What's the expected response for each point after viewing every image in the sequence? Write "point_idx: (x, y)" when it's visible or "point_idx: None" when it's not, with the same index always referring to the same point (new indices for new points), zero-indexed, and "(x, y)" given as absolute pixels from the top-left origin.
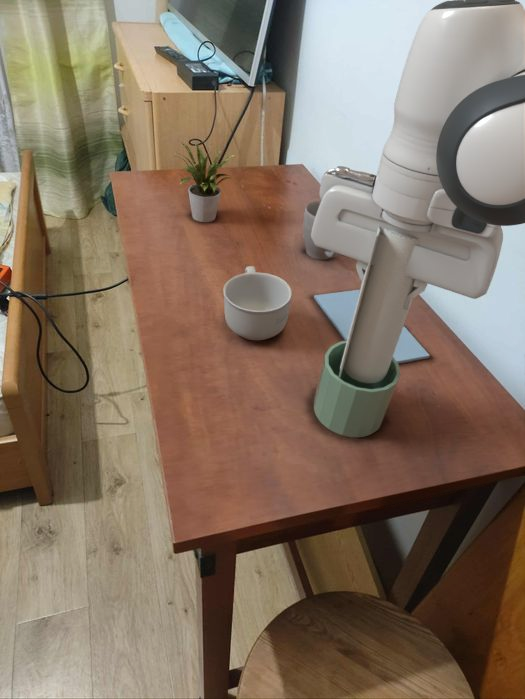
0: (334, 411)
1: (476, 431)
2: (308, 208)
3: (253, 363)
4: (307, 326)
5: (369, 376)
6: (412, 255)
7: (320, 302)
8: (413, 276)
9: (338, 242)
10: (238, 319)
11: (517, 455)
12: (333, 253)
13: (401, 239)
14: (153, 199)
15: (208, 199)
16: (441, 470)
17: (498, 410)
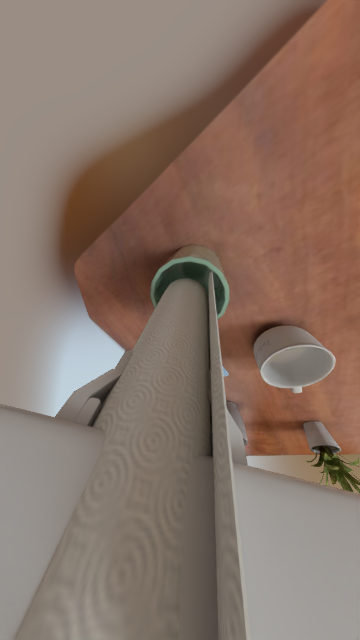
0: (207, 251)
1: (104, 286)
2: (244, 441)
3: (279, 303)
4: (232, 349)
5: (178, 281)
6: (38, 570)
7: (224, 370)
8: (78, 435)
9: (353, 556)
10: (310, 337)
11: (75, 273)
12: None
13: None
14: (355, 435)
15: (321, 442)
16: (114, 237)
17: (97, 309)
